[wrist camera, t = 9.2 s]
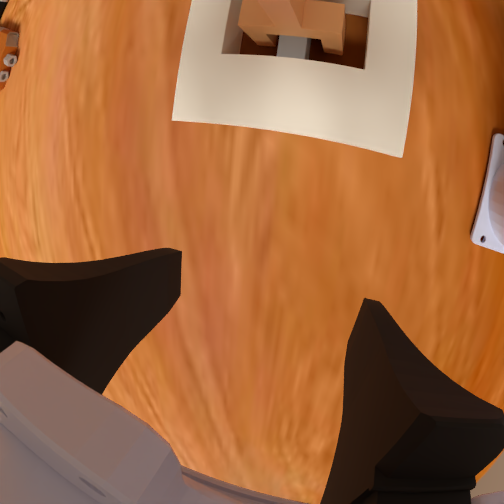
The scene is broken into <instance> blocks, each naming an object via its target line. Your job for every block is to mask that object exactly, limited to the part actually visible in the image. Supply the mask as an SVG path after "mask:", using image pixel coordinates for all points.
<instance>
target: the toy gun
mask: <svg viewBox="0 0 504 504" xmlns="http://www.w3.org/2000/svg"><path fill="white" fill-rule="evenodd" d="M8 1H9V0H0V17H1V15H2V13H3V11H4V9H5V7H6V5H7V3H8ZM18 37H19V33H18V32H15V31H13V30H10V29H7V28H4V27H0V90H2V89H3V88H4V87H5V84H6V80H7V78H8V77H9V76H8V74H9V71H10V68H11V66H12V67H13V66H14V64H15V63H16V62H17V56H15V54H16V52H17V49H18V46H17V44H18Z"/></svg>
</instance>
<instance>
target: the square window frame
mask: <svg viewBox="0 0 504 504" xmlns="http://www.w3.org/2000/svg"><path fill="white" fill-rule="evenodd" d="M317 1H326V2H333V3H340V4H345V13H347V14H352V15H358V16H363V17H368V27H367V39H366V49H365V59H364V68H363V69H359V68H354V67H349V66H344V65H338V64H333V63H327V62H320V61H313V60H309V53H310V46H311V38H306V37H297V36H286V35H280V36H279V43H278V49H277V56H264V55H244V54H240V48H241V42H242V36H243V30H242V29H241V28H240V27H239V26H238V21H239V15H240V10H241V5H242V0H192V3H191V7H190V12H189V17H188V21H187V26H186V31H185V37H184V42H183V47H182V53H181V59H180V65H179V71H178V78H177V85H176V92H175V99H174V107H173V115H172V120H174V121H188V122H201V123H213V124H224V125H233V126H242V127H250V128H258V129H265V130H272V131H279V132H285V133H291V134H297V135H303V136H308V137H314V138H319V139H324V140H329V141H334V142H338V143H343V144H348V145H352V146H356V147H360V148H365V149H369V150H373V151H377V152H380V153H384V154H388V155H391V156H396V157H400V158H402V156H403V150H404V145H405V139H406V133H407V127H408V120H409V113H410V106H411V98H412V90H413V80H414V69H415V56H416V38H417V0H317Z"/></svg>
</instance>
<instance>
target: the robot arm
mask: <svg viewBox="0 0 504 504" xmlns="http://www.w3.org/2000/svg"><path fill="white" fill-rule="evenodd" d="M503 140H504V135H502V134H499V133H497V134H494V135H493V138H492V145H491V151H490V157H489V163H488V168H487V173H486V178H485V183H484V187H483V191H482V196H481V200H480V204H479V207H478V211H477V215H476V218H475V222H474V225H473V229H472V232H471V236H470V237H471V240H472V242H473V243H475V244H477V245H480V246H483V247H486V248H489V249H492V250H495V251H498V252H501V253H503V254H504V146H503ZM482 236H484V239H483V240H482V241H480V238H481V237H482ZM181 261H182V251H179V250H175V249H171V248H161V249H154V250H149V251H144V252H140V253H135V254H130V255H125V256H120V257H115V258H109V259H104V260H97V261H89V262H78V263H41V262H29V261H22V260H16V259H10V258H5V257H4V258H0V504H309V503H303V502H298V501H293V500H288V499H284V498H279V497H275V496H271V495H267V494H263V493H260V492H256V491H252V490H249V489H245V488H242V487H239V486H236V485H233V484H229V483H226V482H224V481H221V480H218V479H215V478H212V477H209V476H207V475H204V474H201V473H199V472H196V471H194V470H191V469H189V468H186V467H184V466H182V465H180V462H179V460H178V458H177V456H176V455H175V453H174V451H173V449H172V448H171V446H170V444H169V443H168V442H167V441H166V440H165V439H164V438H162V437H161V436H160V435H159V434H158V433H157V432H156V431H155V430H154V429H153V428H152V427H151V426H150V425H149V424H147V423H146V422H144V421H143V420H141V419H140V418H138V417H137V416H135V415H134V414H132V413H131V412H129V411H128V410H126V409H125V408H123V407H122V406H120V405H118V404H117V403H115V402H113V401H111V400H110V399H108V398H106V397H104V396H103V395H102V393H103V391H104V390H105V388H106V386H107V385H108V383H109V382H110V380H111V379H112V377H113V376H114V374H115V373H116V371H117V370H118V368H119V367H120V366H121V364H122V363H123V362H124V360H125V359H126V358H127V356H128V355H129V354H130V352H131V351H132V350H133V349H134V348H135V347H136V345H137V344H138V343H139V342H140V341H141V340H142V339H143V338H144V337H145V336H146V335H147V334H148V333H149V332H150V331H151V330H152V329H153V328H154V327H155V326H156V325H157V324H158V323H159V322H160V321H161V320H162V319H163V318H164V317H165V316H166V314H167V313H168V312H169V311H170V310H171V308H172V307H173V305H174V304H175V303H176V301H177V300H178V298H179V297H180V294H181ZM503 449H504V413H503V410H502V409H500V408H498V407H496V406H494V405H492V404H490V403H488V402H486V401H484V400H482V399H480V398H478V397H477V396H475V395H473V394H472V393H470V392H469V391H467V390H466V389H464V388H462V387H461V386H460V385H458V384H457V383H455V382H454V381H453V380H451V379H450V378H449V377H448V376H446V375H445V374H444V373H443V372H441V371H440V370H439V369H438V368H437V367H436V366H434V365H433V364H432V363H431V362H430V361H429V360H428V359H427V358H426V357H425V356H424V355H423V354H422V353H421V352H420V351H419V350H418V349H417V347H416V346H415V345H414V344H413V343H412V342H411V341H410V339H409V338H408V337H407V336H406V335H405V333H404V332H403V331H402V330H401V328H400V327H399V326H398V324H397V323H396V322H395V320H394V319H393V318H392V316H391V315H390V314H389V312H388V311H387V310H386V308H385V307H384V306H383V305H382V304H381V303H380V302H379V301H375V300H371V299H366V298H364V300H363V303H362V306H361V308H360V311H359V314H358V317H357V319H356V322H355V325H354V327H353V330H352V333H351V335H350V338H349V340H348V344H347V351H346V357H345V365H344V396H343V414H342V423H341V428H340V433H339V438H338V443H337V447H336V452H335V456H334V460H333V464H332V468H331V471H330V475H329V478H328V481H327V485H326V488H325V491H324V494H323V497H322V500H321V503H320V504H504V491H499V492H493V493H488V494H482V495H478V496H476V497H474V498H472V499H471V496H470V490H472V489H473V488H475V486H476V480H475V475H477V474H478V473H479V472H480V471H481V470H483V469H484V468H485V467H486V466H487V465H488V464H489V463H490V462H492V461H493V460H494V459H495V458H496V457H497V456H498V455H499V454H500V453H501V451H502V450H503Z"/></svg>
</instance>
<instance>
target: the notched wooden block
mask: <svg viewBox="0 0 504 504" xmlns="http://www.w3.org/2000/svg"><path fill="white" fill-rule="evenodd" d="M238 26H239V27H240V28H241V29H242V30H243V31H244V32H245V33H246V34H247V35H248V36H249V37H250V38H251V39H252V40H253V41H254V42H255V43H256V44H257V45H259V46H275V47H276V41H277V35H286V36H297V37H306V38H314V39H321V42H322V46H323V50H324V52H326V53H332V54H337V55H343V48H344V40H345V31H346V23H345V4H340V3H333V2H326V1H317V0H242V5H241V10H240V15H239V21H238Z"/></svg>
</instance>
